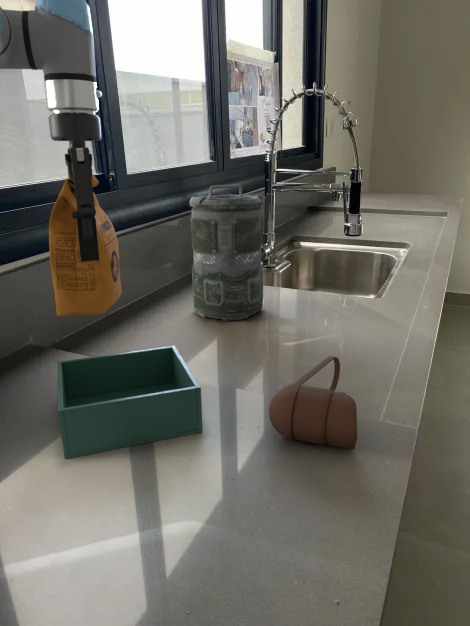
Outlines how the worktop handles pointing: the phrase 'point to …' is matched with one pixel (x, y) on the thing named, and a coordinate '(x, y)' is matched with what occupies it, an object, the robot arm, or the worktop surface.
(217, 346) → the worktop surface
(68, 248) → the coffee package
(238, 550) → the worktop surface
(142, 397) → the green open box
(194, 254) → the canister
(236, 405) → the worktop surface
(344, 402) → the brown strapped handbag
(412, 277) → the worktop surface
